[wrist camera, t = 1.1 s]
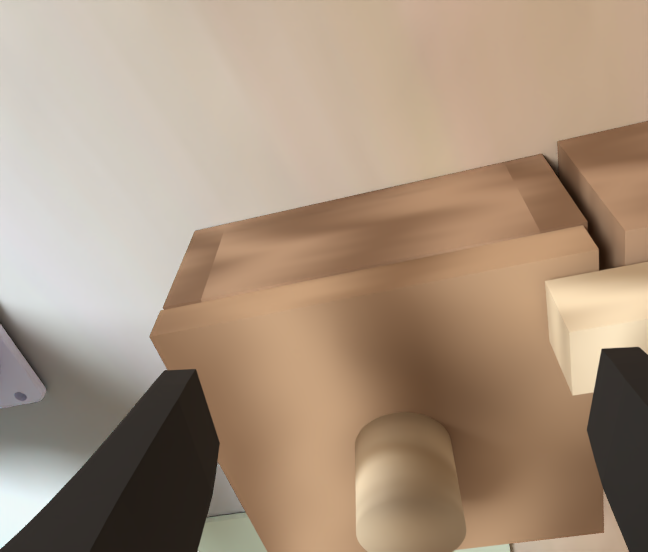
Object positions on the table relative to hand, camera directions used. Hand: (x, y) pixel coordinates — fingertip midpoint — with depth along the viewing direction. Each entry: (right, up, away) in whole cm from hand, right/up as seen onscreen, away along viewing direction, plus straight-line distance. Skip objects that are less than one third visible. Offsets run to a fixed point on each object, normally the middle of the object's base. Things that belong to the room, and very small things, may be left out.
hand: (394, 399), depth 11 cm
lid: (+1, -2, +9) cm, 9 cm away
